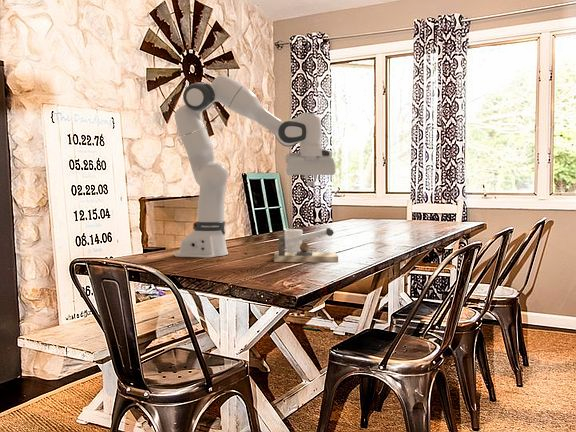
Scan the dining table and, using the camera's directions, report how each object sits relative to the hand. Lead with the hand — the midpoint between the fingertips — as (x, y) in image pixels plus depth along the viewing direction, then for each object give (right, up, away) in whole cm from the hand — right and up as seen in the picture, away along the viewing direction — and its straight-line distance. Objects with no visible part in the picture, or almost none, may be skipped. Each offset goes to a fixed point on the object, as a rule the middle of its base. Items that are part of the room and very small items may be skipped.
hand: (310, 186), depth 229 cm
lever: (-2, -22, -8) cm, 24 cm away
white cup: (-7, -29, +11) cm, 31 cm away
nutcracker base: (-2, -30, -8) cm, 31 cm away
